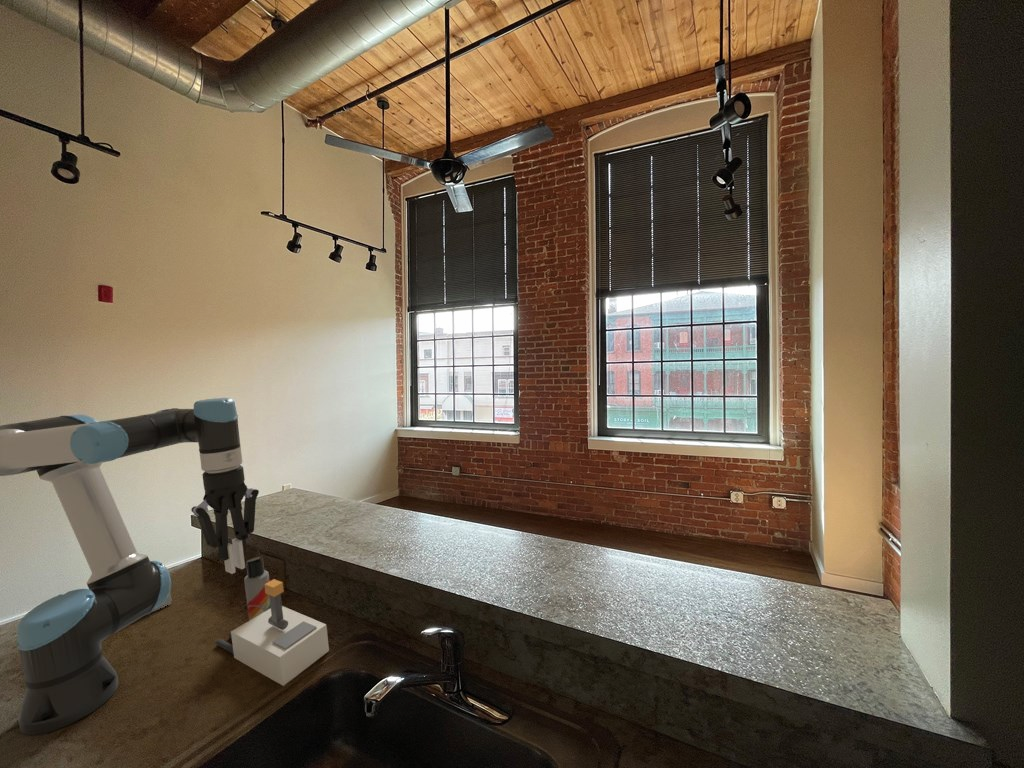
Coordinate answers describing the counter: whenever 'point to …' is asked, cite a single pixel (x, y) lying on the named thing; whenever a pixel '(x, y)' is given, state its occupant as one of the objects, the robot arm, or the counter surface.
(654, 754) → the counter surface
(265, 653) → the block
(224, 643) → the parallel rod pair
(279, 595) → the lever
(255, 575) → the lotion bottle
